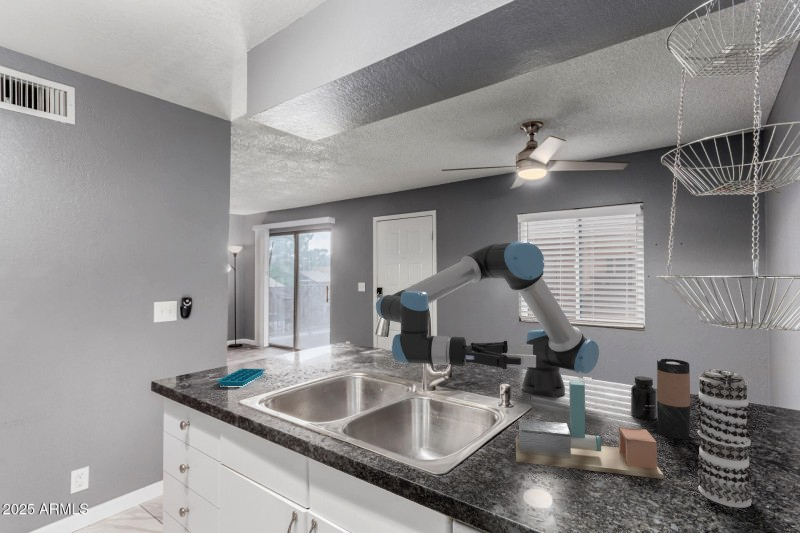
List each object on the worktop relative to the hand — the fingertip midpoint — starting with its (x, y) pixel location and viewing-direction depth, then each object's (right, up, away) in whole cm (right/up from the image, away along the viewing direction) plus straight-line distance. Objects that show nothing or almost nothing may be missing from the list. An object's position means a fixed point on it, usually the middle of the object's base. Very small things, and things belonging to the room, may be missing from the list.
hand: (534, 355), depth 100 cm
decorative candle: (+32, -24, -19) cm, 45 cm away
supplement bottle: (+42, -25, +24) cm, 54 cm away
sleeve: (+2, -23, -1) cm, 24 cm away
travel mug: (+43, -24, +11) cm, 50 cm away
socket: (+22, -23, -6) cm, 33 cm away
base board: (+11, -24, -3) cm, 27 cm away
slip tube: (+7, -22, -2) cm, 23 cm away
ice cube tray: (-100, -26, +66) cm, 123 cm away
